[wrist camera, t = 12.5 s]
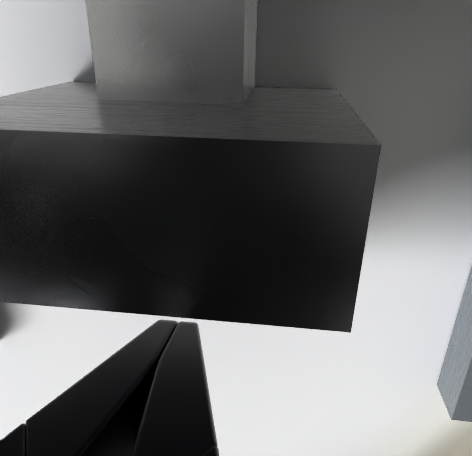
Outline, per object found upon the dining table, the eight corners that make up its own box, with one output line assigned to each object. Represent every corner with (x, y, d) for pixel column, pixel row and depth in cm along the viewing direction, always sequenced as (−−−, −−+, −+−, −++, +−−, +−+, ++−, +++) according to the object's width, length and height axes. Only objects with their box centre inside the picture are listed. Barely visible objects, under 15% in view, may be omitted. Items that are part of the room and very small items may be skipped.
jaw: (432, 204, 10) (553, 349, 5) (-6, 179, 11) (-216, 282, 6) (533, -238, 7) (1063, -832, 2) (-100, -207, 8) (-649, -543, 3)
